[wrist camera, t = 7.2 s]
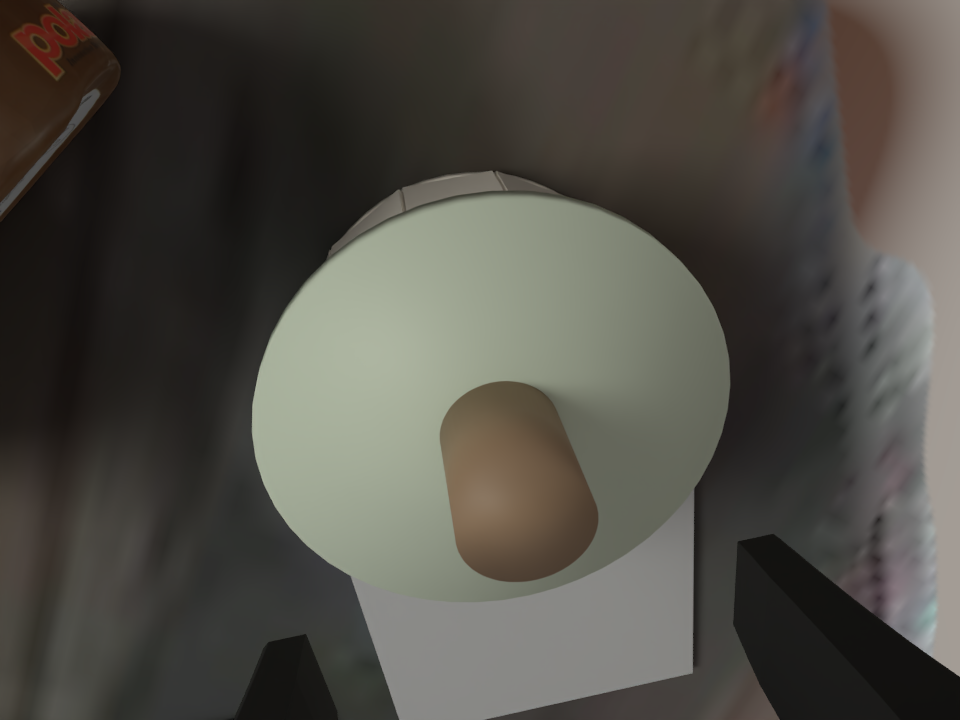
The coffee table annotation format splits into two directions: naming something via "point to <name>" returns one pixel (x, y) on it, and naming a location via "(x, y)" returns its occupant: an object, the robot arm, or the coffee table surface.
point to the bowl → (436, 196)
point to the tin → (45, 89)
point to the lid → (489, 397)
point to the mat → (541, 635)
